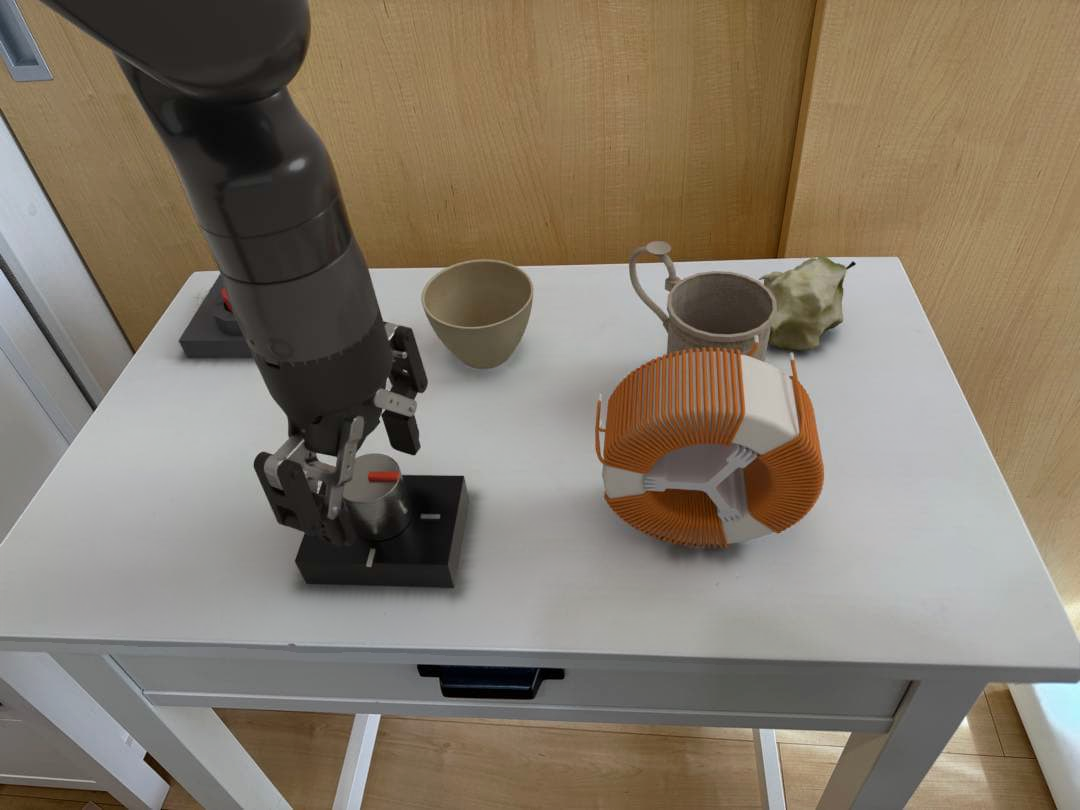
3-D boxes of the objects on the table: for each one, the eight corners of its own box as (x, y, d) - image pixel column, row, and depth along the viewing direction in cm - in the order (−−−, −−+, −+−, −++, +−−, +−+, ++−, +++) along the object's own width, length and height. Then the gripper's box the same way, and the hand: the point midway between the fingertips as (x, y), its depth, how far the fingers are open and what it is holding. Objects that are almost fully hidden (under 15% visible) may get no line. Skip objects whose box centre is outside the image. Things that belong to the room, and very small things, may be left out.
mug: (791, 387, 67) (816, 273, 58) (722, 449, 62) (739, 336, 54) (662, 318, 74) (668, 210, 66) (593, 369, 70) (590, 259, 62)
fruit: (823, 307, 76) (858, 244, 70) (831, 376, 70) (870, 314, 64) (732, 289, 76) (759, 225, 70) (733, 357, 70) (762, 294, 64)
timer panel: (305, 587, 56) (292, 563, 53) (335, 494, 62) (325, 469, 59) (453, 592, 54) (446, 567, 52) (469, 496, 61) (464, 471, 58)
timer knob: (345, 540, 55) (328, 499, 51) (360, 492, 58) (344, 450, 54) (405, 541, 54) (392, 500, 51) (417, 492, 57) (405, 450, 54)
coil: (802, 559, 54) (848, 414, 44) (593, 545, 56) (588, 403, 46) (792, 483, 59) (831, 337, 49) (599, 473, 61) (597, 330, 51)
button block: (284, 357, 74) (271, 325, 71) (187, 357, 75) (170, 326, 72) (315, 289, 82) (305, 258, 79) (227, 290, 83) (213, 259, 80)
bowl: (426, 388, 70) (412, 328, 65) (443, 319, 77) (431, 259, 72) (535, 387, 69) (529, 326, 64) (541, 318, 76) (536, 257, 71)
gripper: (329, 234, 48) (384, 411, 60) (170, 380, 39) (271, 555, 51) (431, 255, 46) (468, 436, 57) (285, 416, 37) (364, 592, 48)
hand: (375, 492), depth 54 cm, fingers open, 8 cm apart
